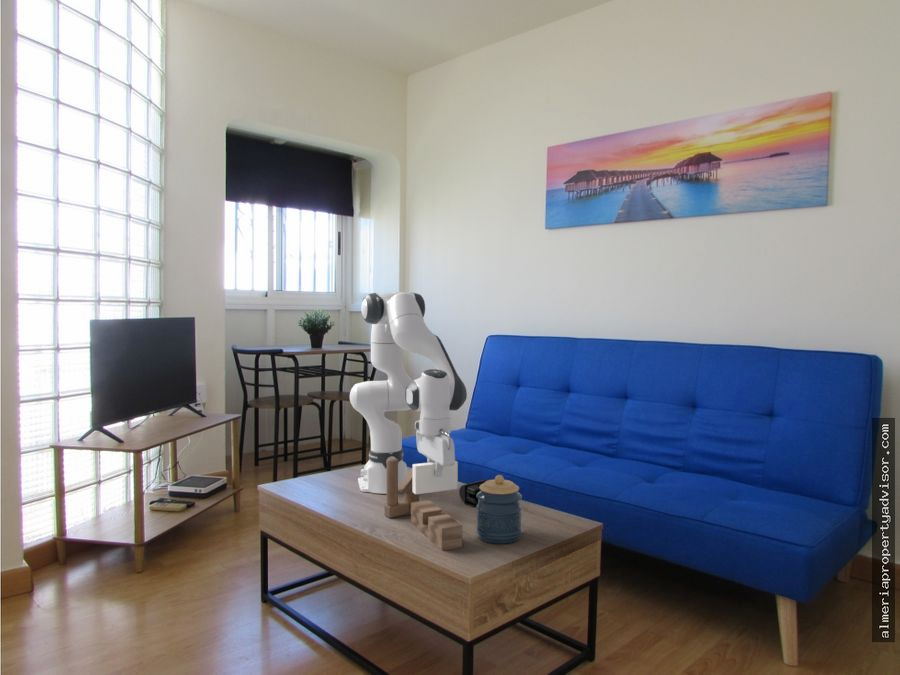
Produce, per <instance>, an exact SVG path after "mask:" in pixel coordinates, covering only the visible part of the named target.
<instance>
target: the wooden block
mask: <svg viewBox="0 0 900 675" xmlns="http://www.w3.org/2000/svg"><path fill="white" fill-rule="evenodd" d="M401 494H404V501H399V495H401ZM419 501H420V494H414V493H413V492H412V468H411V469H410V471H409V472H407V476H406V477H405V478H404V480H403V481H402V482H401V483H400V485H399V486H398V459H396V458H389V459H387V494H386V503H385V504H384V516H385V517H387V518H389V519H393V518H397V517H402V516H403V517H404V516H407V515H411V502H419Z"/></svg>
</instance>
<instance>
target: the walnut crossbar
mask: <svg viewBox="0 0 900 675" xmlns="http://www.w3.org/2000/svg"><path fill="white" fill-rule="evenodd" d="M434 503H435V502H432V501H431V500H429V499H428V500H419V502H411V514H410V523H411V524H412V525H414V527H415V528H416V529H418V530H419V531H420V532H422V534H423V535H425V536H426V537H427V538H428V539H429V541H431V542H432V543H433V544H434V545H435V546H436V547H437V548H439V549H440V550H441V551H447V550H452V549H457V548H462V547H463V525H462V524H461V523H460V522H458V521H457V520H456V519H454V518H453V517H452V516H451V515H449V514H448V513H446V514H443V509H441V508H440V507H439V506H437V505H436V504H434Z"/></svg>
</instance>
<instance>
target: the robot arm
mask: <svg viewBox="0 0 900 675" xmlns="http://www.w3.org/2000/svg"><path fill="white" fill-rule="evenodd" d="M360 309H361V310H360V311H361V315H362V319H363V320H364V321H365V323H368V324H371V330H370V331H371V332H370V363H371V365H372V366H373V367H374V368H375V369H376V370H378V371H380V372H383V374H384V373H385V374H386V375H387V379H386V380H366V381H362V382H357V383H355V384H354V385H353V386H352V387H351V389H350V392H349V403H350V404H351V406H352V407H353V409H354V410H355V411H356V412H358V413H359V414H360V415H362V417H363V418H364V419H365V421H366V423H367V426H368V428H369V436H370V449H369V453H368V461H367V462H366V463H365V465H364V468H361V469H360V476H361V477H358V478H357V483H358V486H359V491H361V492H363V493H372V494H383V495H384V494H386V495H387V459H389V458H396V459H398V486H399V485H400V483H401V482H402V481H403V480H404V478H405V477H406V476H407V474H408V470H407V469H408V468H407V466H408V465H407V463H406V462H405V461H403V459H404V450H403V447H402V446H403V445H402V443H403V442H402V441H403V440H402V438H403V436H402V435H403V434H402V432H403V431H402V428H401V426H400V425H399V424H398V423H397V422H395V421H394V420H391V419H389V418H387V417H386V416H385V413H386V412H401V411H402V412H403V411H409V410H412V411H416V412H420V415H419V420H416V421H415V422H414V428H415V430H416V431H415V433H416V434H415V437H416V439H415V441H416V448H417V452H418V453H419V454H421V455H423V456H424V457H426V460H427V461H426V463H429V462H435V465H436V468H435V470H434V475H435V476H436V477H441V476H442V469H443V466H453V465H454V463H455V461H456V454H455V442H454V439H453V438H452V437H450V434H451V430H452V428H451V427H452V426H451V425H452V420H451V419H452V416H451V415H452V414H451V411H458V410H459V409H460V408H461V407H462V406H463V405H464V403H465V402H466V401H467V396H468V394H467V388H466V385H465V383H464V381H463V380H462V379H461V377H460V376H459V375H458V373H457V371H456V368H455V366H454V364H453V363H452V360H451V358H450V356H449V354H448V352H447V350H446V348H445V346H444V344H443V342H442V340H441V339H440V337H439V336H437V334H435V333H434V332H432V330H430V328H428V326H427V325H426V323H425V319H424V317H425V314H426V302H425V300H424V297H423V296H422V295H421V293H417V292H402V291H393V292H392V291H391V292H381V293H377V292H372V293H368V294H365V296H364V297H363V299H362V302H361V307H360ZM403 350H404V351H406V352H409V353H410V352H411V353H414V354H417V355H421V356H423V357H426V359H427V358H428V359H429V360H430V361H431V362H432V363H433V365H434V367H435V368H434V369H426V370H423V372H422V373H421V376H420V377H418V378H416V379H412V378H411V377H410V375H409V374H408V373H407V371H406V369H405V366H404V359H403Z"/></svg>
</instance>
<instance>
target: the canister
mask: <svg viewBox="0 0 900 675" xmlns="http://www.w3.org/2000/svg"><path fill="white" fill-rule="evenodd" d="M479 488H480V490H481V491H479V492H478V493H477V495H476V496H477V498H478V504H477V506H476V507H475V508H476V526H475V527H476V530H475V531H476V536H477V538H478V539H480V540H481V541H483V542H486V543H490V544H500V545H501V544H503V545H504V544H510V543H514V542H517V541H519V539H521V536H522V532H523V531H522V530H523V528H522V510H523V507H522V505H521V500H522V499H523V495H522V494H521V493H520V492H518V491H519V490H520V486H519V485H517V484H516V483H514V482H513V481H511V480H508V479H505V478H504V476H503V475H502V474H497V475H496V476H494V479H487V481H486V482H485V483H483V484H481V485H480V487H479Z"/></svg>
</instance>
